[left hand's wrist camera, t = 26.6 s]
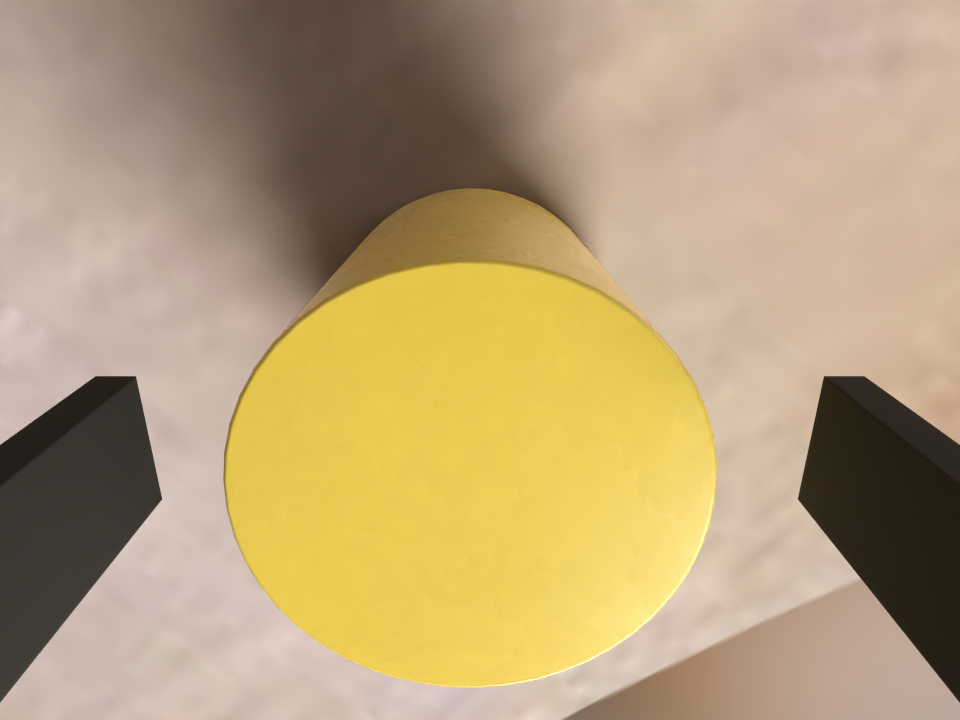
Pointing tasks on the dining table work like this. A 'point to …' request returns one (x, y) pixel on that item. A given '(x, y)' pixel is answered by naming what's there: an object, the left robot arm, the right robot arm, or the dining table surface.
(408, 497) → the tin
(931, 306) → the dining table surface
